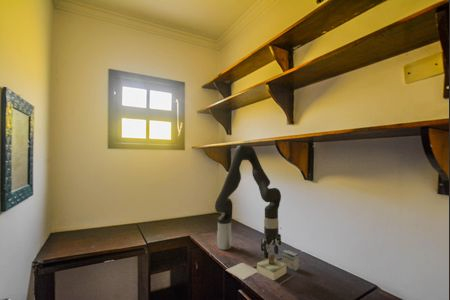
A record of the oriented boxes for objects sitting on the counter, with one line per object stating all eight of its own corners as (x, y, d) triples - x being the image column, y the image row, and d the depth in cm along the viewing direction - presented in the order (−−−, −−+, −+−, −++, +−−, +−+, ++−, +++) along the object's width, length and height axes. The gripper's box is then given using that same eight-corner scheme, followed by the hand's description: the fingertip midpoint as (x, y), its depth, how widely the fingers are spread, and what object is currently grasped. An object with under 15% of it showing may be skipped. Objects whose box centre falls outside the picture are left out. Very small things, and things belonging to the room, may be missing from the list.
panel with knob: (225, 270, 127) (225, 269, 127) (242, 263, 135) (242, 262, 135) (242, 280, 117) (242, 279, 117) (259, 272, 126) (259, 270, 126)
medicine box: (281, 266, 131) (281, 251, 131) (286, 264, 134) (286, 249, 135) (294, 271, 126) (294, 255, 126) (298, 269, 129) (298, 253, 129)
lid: (256, 264, 124) (256, 254, 124) (269, 258, 132) (269, 248, 132) (273, 272, 116) (273, 261, 116) (286, 265, 123) (286, 255, 123)
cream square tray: (256, 273, 124) (256, 264, 124) (269, 266, 132) (269, 258, 132) (273, 281, 116) (273, 272, 116) (286, 274, 123) (286, 265, 123)
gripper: (273, 221, 132) (273, 250, 131) (257, 226, 122) (257, 257, 122) (285, 224, 126) (285, 254, 126) (268, 230, 117) (268, 262, 116)
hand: (271, 256), depth 124 cm, fingers open, 8 cm apart
